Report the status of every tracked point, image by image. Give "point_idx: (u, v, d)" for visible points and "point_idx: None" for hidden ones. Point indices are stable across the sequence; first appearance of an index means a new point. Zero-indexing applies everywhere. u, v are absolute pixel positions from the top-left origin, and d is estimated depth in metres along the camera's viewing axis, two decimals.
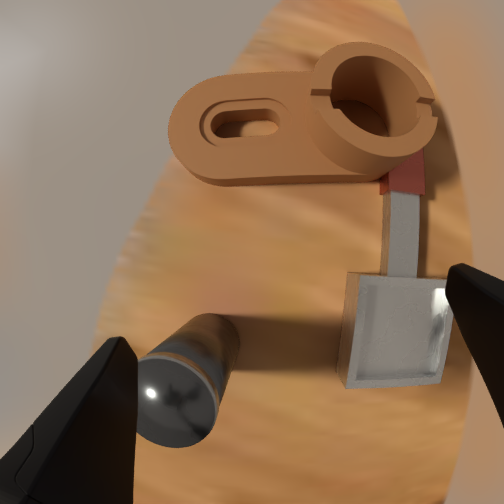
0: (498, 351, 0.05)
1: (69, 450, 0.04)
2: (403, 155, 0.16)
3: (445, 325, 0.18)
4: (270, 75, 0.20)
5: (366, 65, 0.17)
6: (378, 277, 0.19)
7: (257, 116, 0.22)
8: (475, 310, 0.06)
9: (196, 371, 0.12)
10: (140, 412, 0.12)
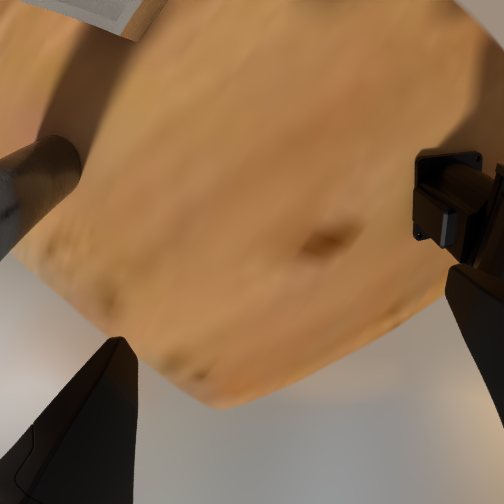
0: (498, 351, 0.05)
1: (69, 450, 0.04)
2: None
3: None
4: None
5: None
6: None
7: None
8: (475, 310, 0.06)
9: None
10: None
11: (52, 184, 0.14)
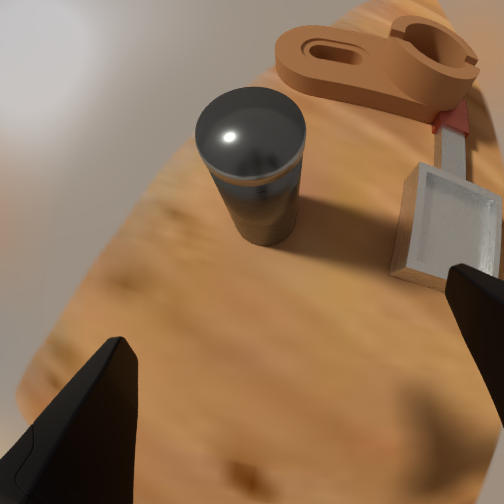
0: (498, 351, 0.05)
1: (69, 450, 0.04)
2: (455, 78, 0.17)
3: (495, 233, 0.17)
4: (358, 34, 0.23)
5: (429, 35, 0.19)
6: (435, 168, 0.18)
7: (344, 59, 0.24)
8: (475, 310, 0.06)
9: None
10: (218, 132, 0.12)
11: (271, 228, 0.18)
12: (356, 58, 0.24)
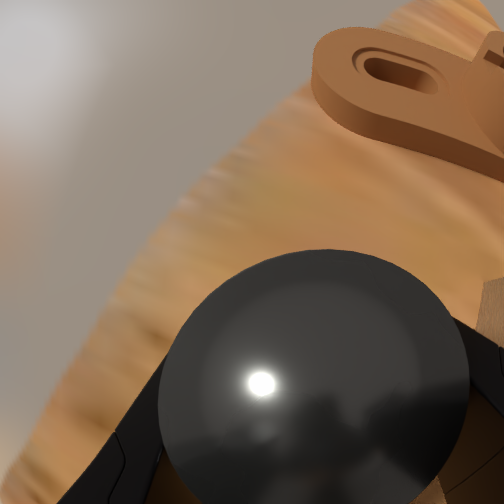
0: None
1: (166, 456, 0.04)
2: None
3: None
4: (426, 46, 0.15)
5: None
6: None
7: (408, 80, 0.16)
8: None
9: None
10: (228, 431, 0.04)
11: None
12: (425, 82, 0.16)
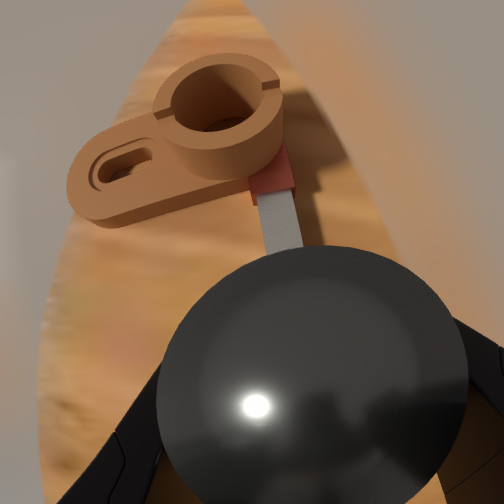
0: None
1: (167, 456, 0.04)
2: (243, 140, 0.17)
3: None
4: (142, 117, 0.23)
5: (212, 76, 0.19)
6: None
7: (139, 157, 0.24)
8: None
9: None
10: (226, 427, 0.04)
11: None
12: (148, 152, 0.23)
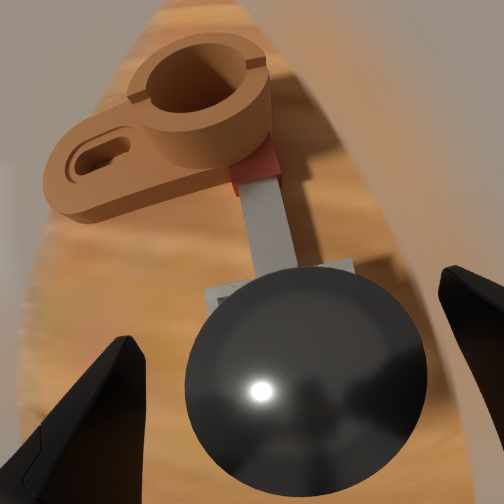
0: (491, 355, 0.05)
1: (78, 451, 0.04)
2: (222, 121, 0.14)
3: None
4: (122, 105, 0.21)
5: (194, 58, 0.17)
6: (228, 285, 0.16)
7: (118, 148, 0.21)
8: (468, 313, 0.06)
9: None
10: (238, 403, 0.05)
11: None
12: (128, 142, 0.21)
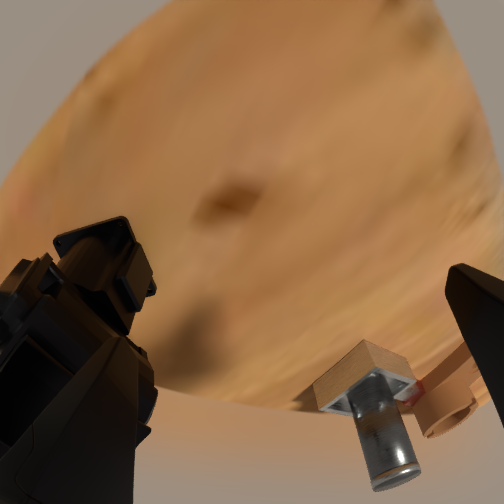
0: (498, 351, 0.05)
1: (69, 450, 0.04)
2: (433, 423, 0.28)
3: (351, 413, 0.29)
4: None
5: (455, 416, 0.31)
6: (407, 388, 0.28)
7: None
8: (475, 310, 0.06)
9: None
10: (409, 475, 0.18)
11: (363, 418, 0.24)
12: (474, 363, 0.31)
